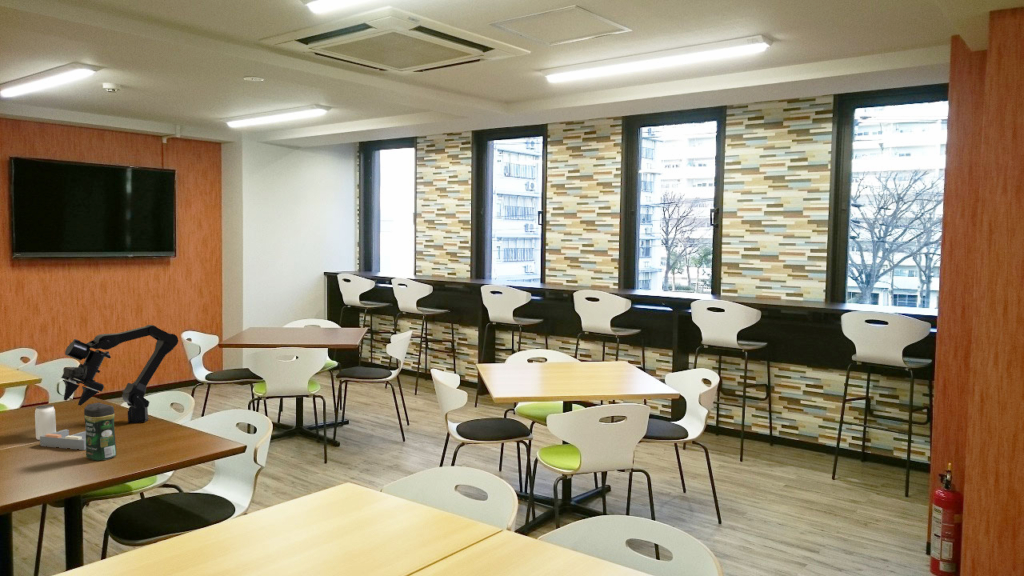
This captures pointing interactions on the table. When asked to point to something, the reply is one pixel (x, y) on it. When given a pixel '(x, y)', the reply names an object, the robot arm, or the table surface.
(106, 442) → the coffee jar
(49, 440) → the dock
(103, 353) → the robot arm
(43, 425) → the can
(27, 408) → the table surface
